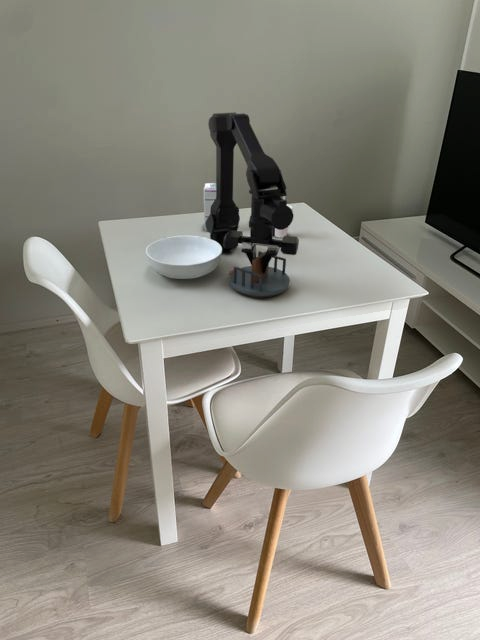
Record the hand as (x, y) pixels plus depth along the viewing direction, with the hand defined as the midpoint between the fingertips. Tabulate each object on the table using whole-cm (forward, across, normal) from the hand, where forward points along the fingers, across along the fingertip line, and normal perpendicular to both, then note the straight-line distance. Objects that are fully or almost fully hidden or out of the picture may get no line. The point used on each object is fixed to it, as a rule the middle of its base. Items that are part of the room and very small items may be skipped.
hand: (259, 272), depth 137 cm
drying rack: (+3, +1, 0) cm, 3 cm away
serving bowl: (+4, +22, -3) cm, 22 cm away
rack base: (+4, 0, 0) cm, 4 cm away
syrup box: (+4, +23, -38) cm, 44 cm away
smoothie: (+4, 0, -37) cm, 37 cm away
